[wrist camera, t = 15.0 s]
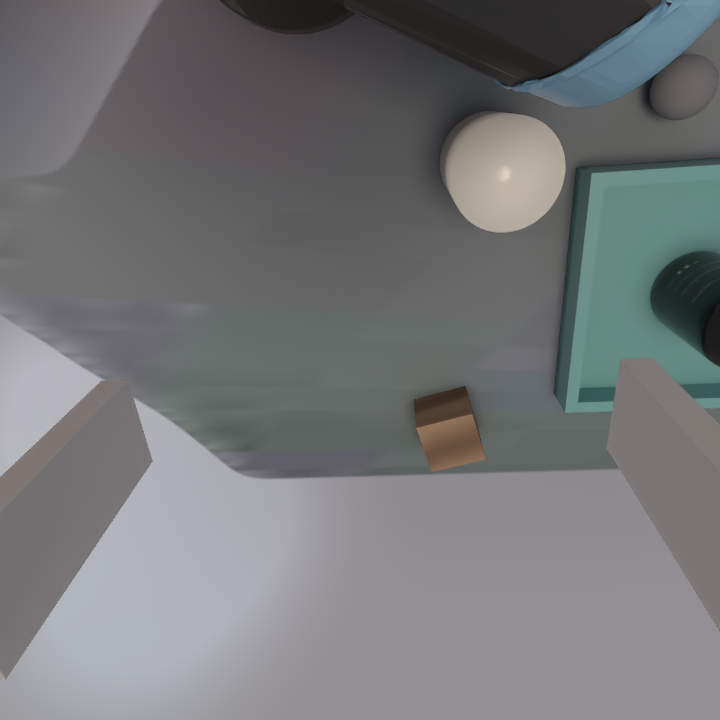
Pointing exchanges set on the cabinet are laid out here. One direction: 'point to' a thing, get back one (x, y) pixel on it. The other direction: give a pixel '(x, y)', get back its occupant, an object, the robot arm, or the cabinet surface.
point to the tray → (632, 276)
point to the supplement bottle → (692, 302)
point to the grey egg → (684, 87)
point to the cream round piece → (502, 169)
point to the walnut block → (448, 429)
